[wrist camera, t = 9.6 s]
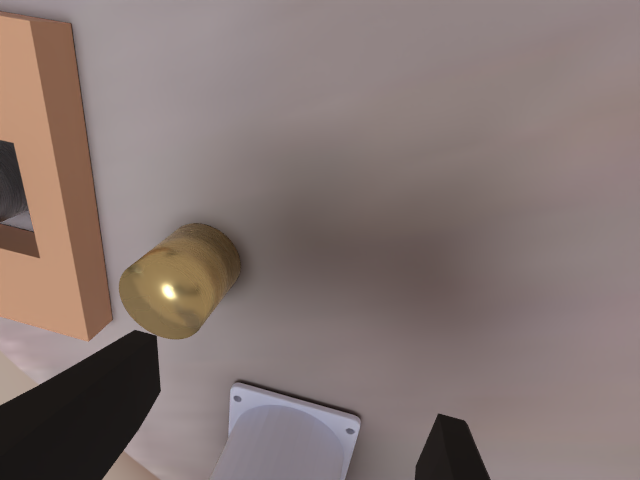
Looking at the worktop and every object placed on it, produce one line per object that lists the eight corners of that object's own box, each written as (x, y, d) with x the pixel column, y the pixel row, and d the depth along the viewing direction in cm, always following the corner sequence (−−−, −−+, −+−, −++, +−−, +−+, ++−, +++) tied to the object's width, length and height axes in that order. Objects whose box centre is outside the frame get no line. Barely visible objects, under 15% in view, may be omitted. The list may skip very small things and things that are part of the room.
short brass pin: (239, 298, 21) (204, 348, 18) (170, 280, 22) (123, 326, 18) (242, 233, 19) (204, 275, 16) (167, 215, 20) (114, 252, 16)
